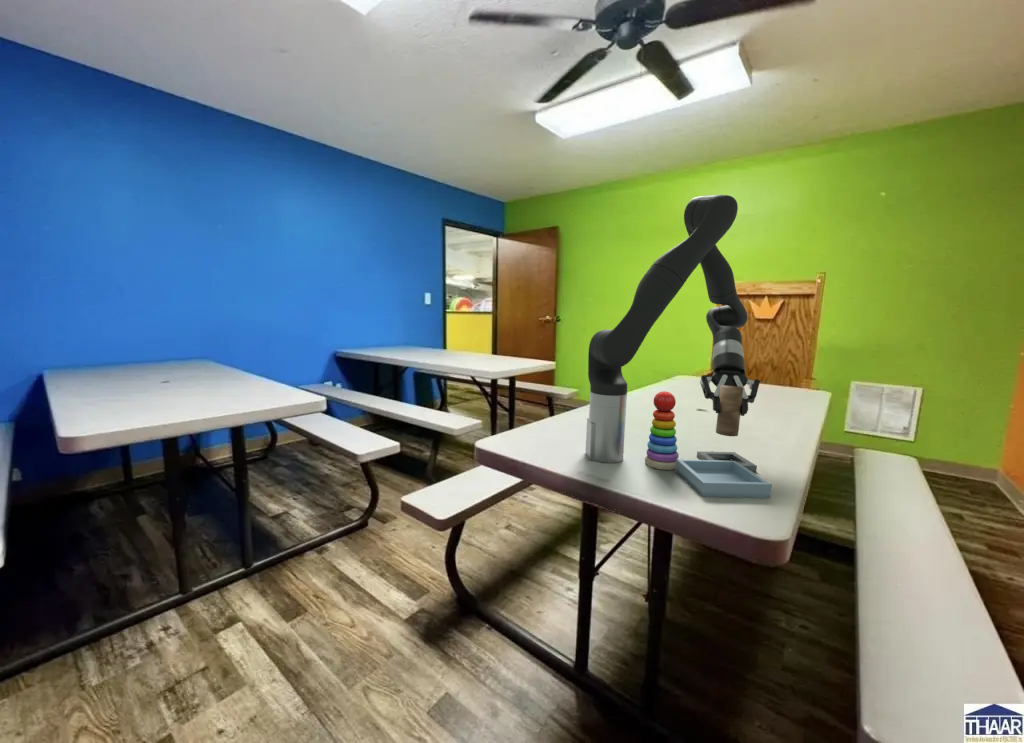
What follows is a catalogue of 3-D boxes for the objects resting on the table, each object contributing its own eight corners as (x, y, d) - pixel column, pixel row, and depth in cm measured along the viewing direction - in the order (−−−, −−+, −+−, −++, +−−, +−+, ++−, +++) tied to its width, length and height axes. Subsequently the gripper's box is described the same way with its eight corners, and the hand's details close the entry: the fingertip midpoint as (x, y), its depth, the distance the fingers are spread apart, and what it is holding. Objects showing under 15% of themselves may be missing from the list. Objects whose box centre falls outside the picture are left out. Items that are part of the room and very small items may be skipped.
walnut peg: (721, 436, 100) (727, 388, 99) (712, 430, 105) (716, 384, 104) (742, 436, 100) (747, 388, 99) (731, 431, 105) (736, 385, 104)
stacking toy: (651, 457, 107) (656, 387, 105) (682, 464, 102) (688, 391, 100) (639, 465, 101) (644, 391, 99) (672, 473, 96) (678, 395, 94)
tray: (702, 496, 84) (703, 482, 84) (675, 471, 98) (676, 459, 97) (770, 498, 84) (771, 484, 84) (733, 472, 98) (734, 460, 97)
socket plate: (715, 470, 99) (715, 464, 99) (696, 456, 109) (697, 451, 109) (756, 471, 99) (756, 465, 99) (734, 457, 109) (734, 452, 109)
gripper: (700, 349, 110) (700, 401, 100) (761, 352, 105) (767, 407, 95) (697, 367, 115) (696, 417, 106) (755, 371, 110) (760, 424, 101)
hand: (730, 412), depth 100 cm, fingers closed on walnut peg, 5 cm apart
